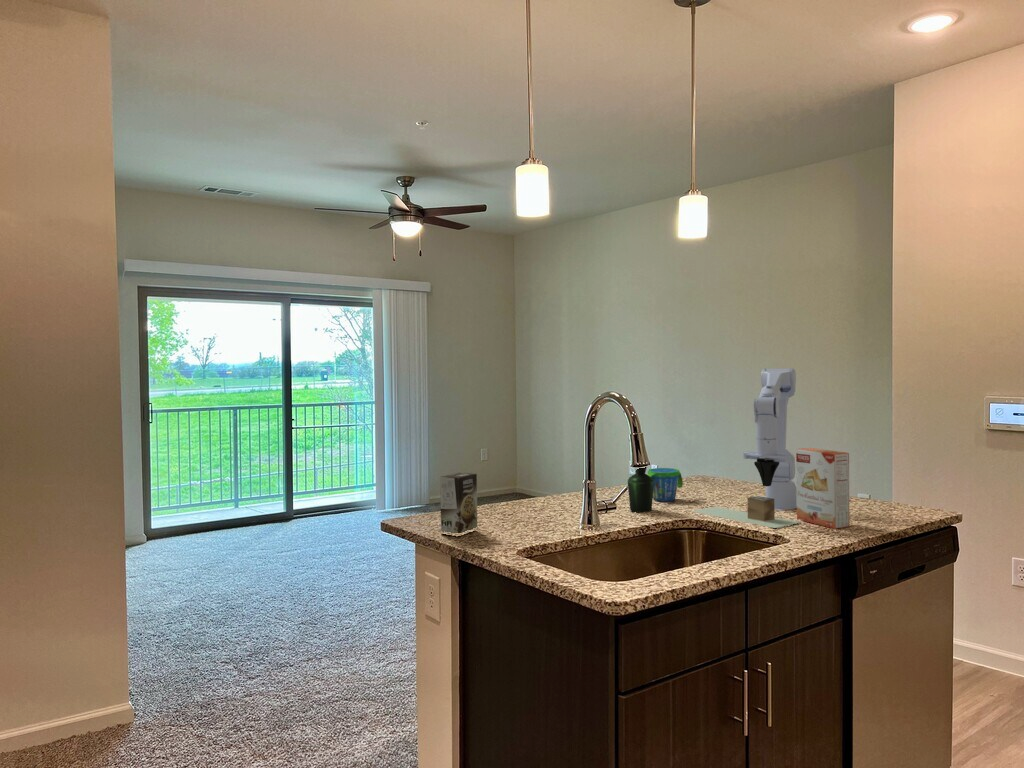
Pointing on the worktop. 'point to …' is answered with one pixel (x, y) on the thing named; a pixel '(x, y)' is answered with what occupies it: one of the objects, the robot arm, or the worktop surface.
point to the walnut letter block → (761, 508)
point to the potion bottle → (640, 491)
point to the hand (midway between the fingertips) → (766, 485)
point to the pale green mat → (744, 517)
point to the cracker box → (823, 487)
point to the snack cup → (665, 483)
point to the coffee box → (458, 502)
